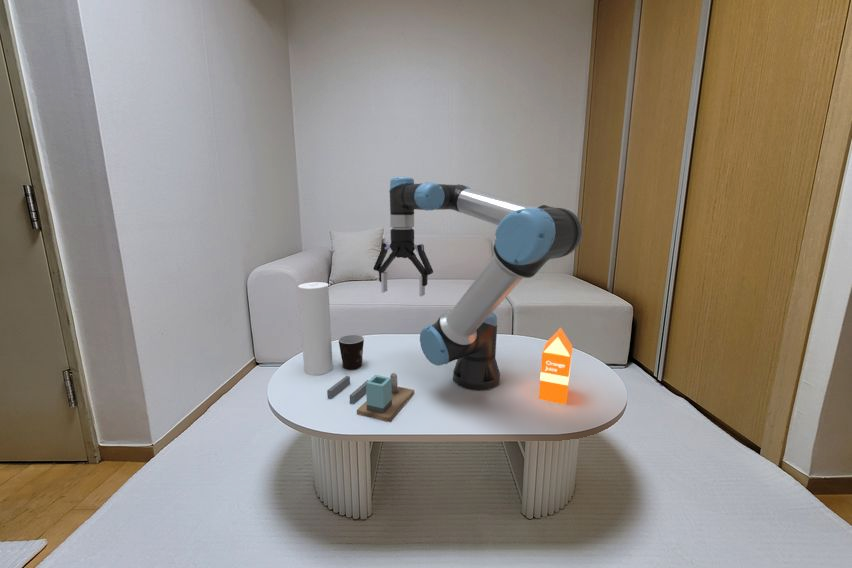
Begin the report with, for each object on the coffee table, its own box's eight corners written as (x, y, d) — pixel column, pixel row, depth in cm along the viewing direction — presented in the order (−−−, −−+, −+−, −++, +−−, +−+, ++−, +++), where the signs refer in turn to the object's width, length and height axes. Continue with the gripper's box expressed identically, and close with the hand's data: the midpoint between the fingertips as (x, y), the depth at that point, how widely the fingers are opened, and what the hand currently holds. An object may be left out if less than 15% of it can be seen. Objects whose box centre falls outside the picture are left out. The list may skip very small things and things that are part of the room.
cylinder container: (315, 377, 122) (309, 288, 115) (298, 370, 127) (292, 284, 121) (338, 367, 129) (334, 283, 122) (321, 361, 134) (316, 279, 128)
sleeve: (383, 413, 99) (382, 386, 97) (366, 410, 101) (366, 382, 99) (391, 404, 104) (391, 378, 102) (375, 401, 105) (375, 374, 104)
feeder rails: (371, 388, 115) (370, 380, 114) (353, 404, 106) (353, 396, 105) (346, 383, 118) (346, 375, 118) (327, 398, 109) (327, 390, 109)
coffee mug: (352, 358, 136) (351, 332, 134) (370, 364, 131) (369, 338, 129) (327, 370, 127) (326, 342, 125) (345, 377, 122) (343, 348, 120)
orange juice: (538, 399, 109) (543, 334, 105) (542, 385, 117) (547, 325, 113) (566, 405, 106) (572, 338, 102) (568, 390, 114) (574, 328, 110)
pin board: (414, 393, 112) (414, 371, 110) (389, 422, 97) (389, 396, 96) (384, 387, 116) (384, 365, 114) (356, 414, 101) (355, 389, 99)
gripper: (443, 228, 117) (442, 294, 121) (373, 226, 126) (375, 287, 130) (435, 230, 110) (434, 300, 115) (361, 227, 119) (364, 292, 123)
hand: (402, 293), depth 122 cm, fingers open, 13 cm apart
